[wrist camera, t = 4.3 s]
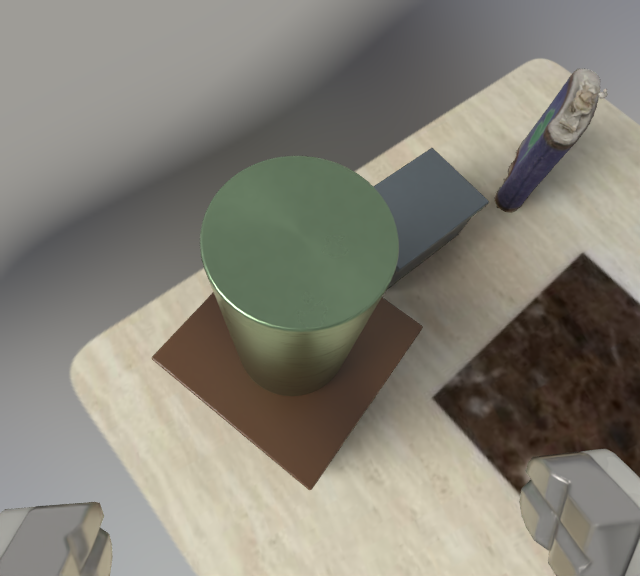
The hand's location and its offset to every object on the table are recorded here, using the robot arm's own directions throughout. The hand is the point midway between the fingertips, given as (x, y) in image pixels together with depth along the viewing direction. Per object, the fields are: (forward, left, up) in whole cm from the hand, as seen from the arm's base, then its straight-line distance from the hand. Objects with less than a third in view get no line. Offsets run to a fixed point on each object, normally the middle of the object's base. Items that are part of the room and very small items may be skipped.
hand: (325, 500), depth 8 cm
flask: (-33, +1, -24) cm, 41 cm away
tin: (-4, -4, -10) cm, 12 cm away
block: (-4, -4, -23) cm, 24 cm away
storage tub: (-20, -4, -23) cm, 31 cm away
